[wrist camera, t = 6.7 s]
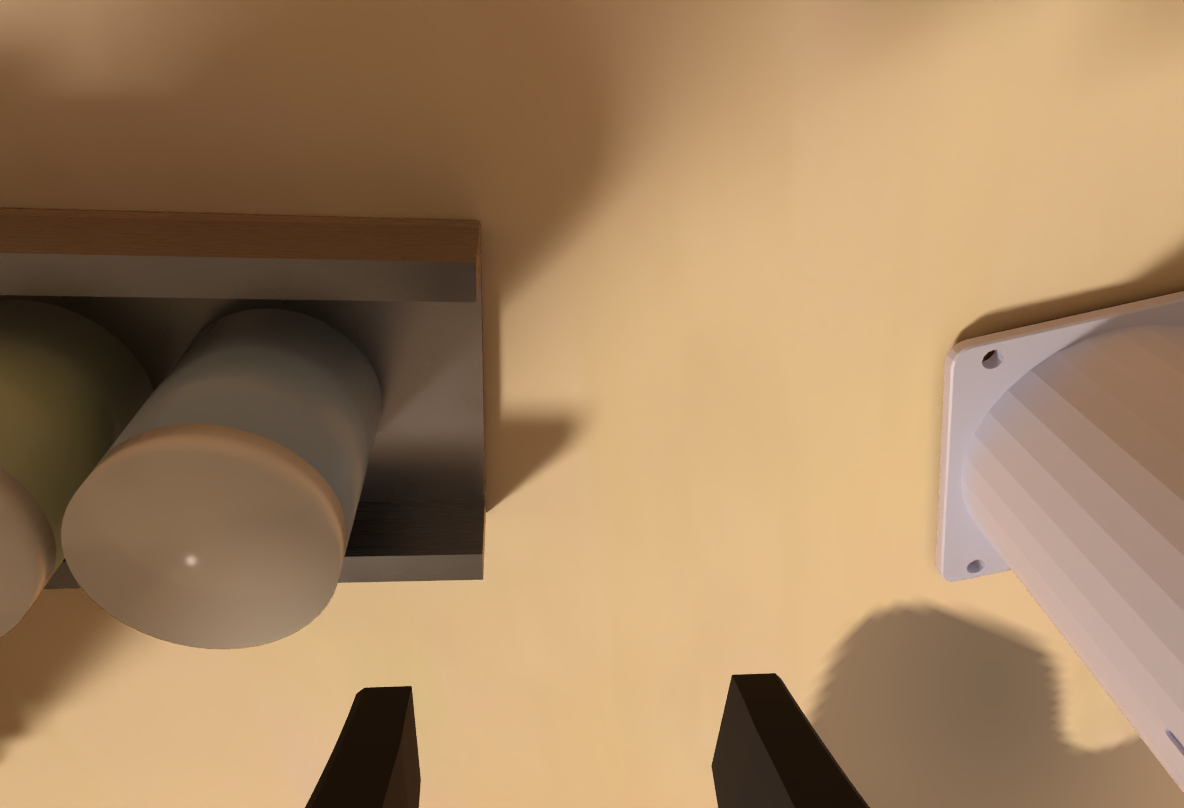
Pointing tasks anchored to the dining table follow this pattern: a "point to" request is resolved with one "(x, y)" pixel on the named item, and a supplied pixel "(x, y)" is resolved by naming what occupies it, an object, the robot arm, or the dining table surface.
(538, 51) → the dining table surface
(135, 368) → the jar
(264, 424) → the jar
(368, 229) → the lane
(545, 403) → the dining table surface
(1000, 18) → the dining table surface
